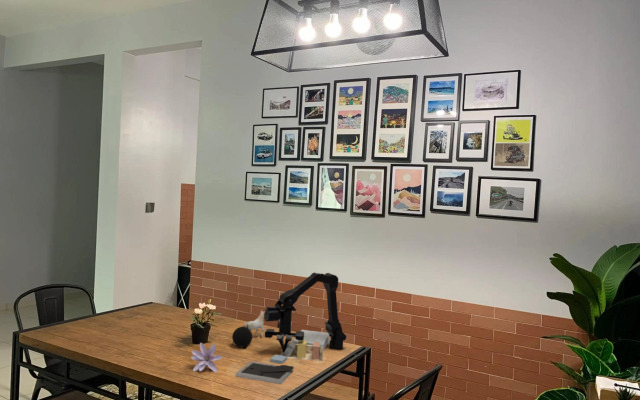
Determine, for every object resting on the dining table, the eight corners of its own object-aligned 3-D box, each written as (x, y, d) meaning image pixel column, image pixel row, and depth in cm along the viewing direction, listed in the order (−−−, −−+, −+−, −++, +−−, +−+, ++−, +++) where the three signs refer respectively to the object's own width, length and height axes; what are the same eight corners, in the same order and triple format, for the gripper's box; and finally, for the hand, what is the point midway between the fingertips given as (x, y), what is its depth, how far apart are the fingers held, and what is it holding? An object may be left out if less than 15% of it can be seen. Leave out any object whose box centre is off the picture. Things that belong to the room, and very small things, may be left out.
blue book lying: (286, 362, 227) (287, 356, 227) (281, 367, 221) (282, 361, 221) (275, 360, 229) (275, 354, 229) (269, 365, 223) (269, 358, 223)
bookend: (290, 352, 237) (295, 344, 237) (289, 357, 231) (294, 348, 231) (285, 349, 237) (290, 340, 237) (283, 353, 231) (289, 344, 231)
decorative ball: (228, 347, 243) (229, 327, 242) (238, 342, 252) (239, 323, 252) (245, 351, 239) (246, 331, 239) (255, 345, 249) (256, 326, 248)
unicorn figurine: (270, 334, 268) (271, 310, 268) (250, 343, 251) (251, 318, 251) (259, 332, 272) (260, 308, 271) (238, 341, 254) (240, 315, 254)
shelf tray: (322, 356, 238) (322, 345, 238) (321, 363, 228) (322, 352, 228) (281, 353, 239) (282, 343, 239) (279, 360, 229) (280, 349, 229)
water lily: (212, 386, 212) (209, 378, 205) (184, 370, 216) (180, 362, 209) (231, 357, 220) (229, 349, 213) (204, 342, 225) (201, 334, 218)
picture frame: (293, 372, 216) (250, 365, 222) (293, 366, 216) (251, 359, 222) (281, 386, 201) (235, 378, 207) (281, 379, 201) (235, 371, 207)
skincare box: (291, 351, 243) (322, 354, 240) (291, 340, 243) (322, 343, 240) (301, 339, 264) (330, 342, 260) (301, 329, 264) (330, 331, 260)
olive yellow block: (306, 353, 237) (306, 340, 236) (305, 358, 231) (306, 344, 230) (297, 353, 237) (298, 340, 237) (296, 357, 231) (297, 343, 231)
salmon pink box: (319, 354, 237) (319, 342, 237) (318, 359, 230) (319, 346, 230) (313, 354, 237) (313, 341, 237) (312, 358, 230) (313, 346, 230)
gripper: (306, 317, 241) (304, 348, 242) (268, 314, 242) (266, 345, 242) (304, 323, 230) (302, 355, 231) (265, 320, 231) (263, 352, 231)
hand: (283, 352), depth 234 cm, fingers closed
